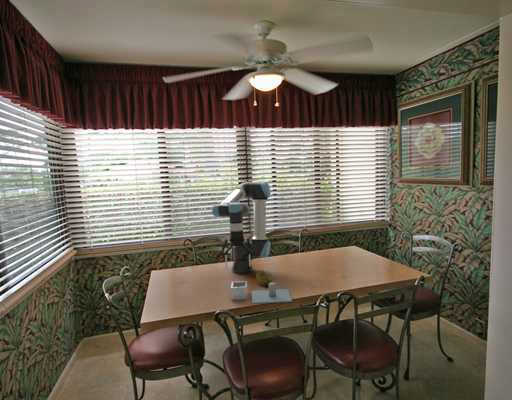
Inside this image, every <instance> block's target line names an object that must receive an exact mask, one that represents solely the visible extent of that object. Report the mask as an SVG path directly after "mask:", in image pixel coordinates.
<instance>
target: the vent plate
mask: <svg viewBox="0 0 512 400" xmlns="http://www.w3.org/2000/svg"><path fill="white" fill-rule="evenodd" d="M276 285H277V284H276V282H274V281H273V282H271V283H269V286H268V289H264V290H251V304H252V305H256V304H258V303H260V304H274V303H276V304H277V303H292V302H293V300H292V297H291V296H292V295H291V293H290V291H289V289H288V288H282V289H281V288H280V289H277V286H276ZM258 305H259V304H258Z"/></svg>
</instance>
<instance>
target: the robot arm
mask: <svg viewBox="0 0 512 400" xmlns="http://www.w3.org/2000/svg"><path fill="white" fill-rule="evenodd" d="M270 197H271V189H270V184H269V183H268V181H261V180H259V181H246V182H242V183H240V184H238V185H237V186H236V187H234V188H233V190H232V192H231V193H230V194H229V195H228V196H227V197H226V198H224V200H223V201H222V202H221V203H220V204H217V203H216V204H213V206H212V208H211V212H212V215H213V217H215V218H218V217H219V218H220V217H221V218H229V230H230V231H229V236H230V237H229V238H225V239H224V244H223V246H222V248H221V250H220V253H219V256H222V258H223V262H225V263H224V264H225V268H226V269H227V268H228V255H227V254H228V253H229V252H230V250H231V249H233V262H232V267H231V270H232V273H234V274H237V275H239V274H249V273H251V272H253V268H254V267H253V265H252V261H253V258H261V259H262V258H265V259H266V258H267V257H268V256H269V254H270V250H271V242H270V240H268V237H267V236H266V231H267V230H266V227H267V226H266V224H267V223H266V222H267V221H266V220H267V219H266V218H267V216H266V214H267V213H266V212H267V211H266V203H267V202H268V200H269V198H270ZM244 199H251V201H252V202H253V236H252V237H251V240H250V238H249V236H248V237H244V222H243V221H244V220H243V219H244V217H247V216H248V215H249V214H250V211H251V210H250V206H249V205H248V204H247V203H242V202H240V201H241V200H244ZM229 242H230V244H229V246H228V247H227V245H228V243H229ZM226 247H227V249H226ZM225 249H226V250H225Z"/></svg>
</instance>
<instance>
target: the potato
mask: <svg viewBox="0 0 512 400" xmlns="http://www.w3.org/2000/svg"><path fill="white" fill-rule="evenodd" d="M255 276H256V280H257V281H258V284H260V286H263V287H269V283H271V282H272V279H271V277H270V275H269V273H268V272H266V271H265V270H262V269H260V270H258V271H257V272H256V274H255Z"/></svg>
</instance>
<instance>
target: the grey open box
mask: <svg viewBox="0 0 512 400" xmlns="http://www.w3.org/2000/svg"><path fill="white" fill-rule="evenodd" d="M230 292H231V293H230V294H231V300H232V301H235V300H248V281H247V280H244V281H243V280H242V281H240V280H239V281H231V285H230Z"/></svg>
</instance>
